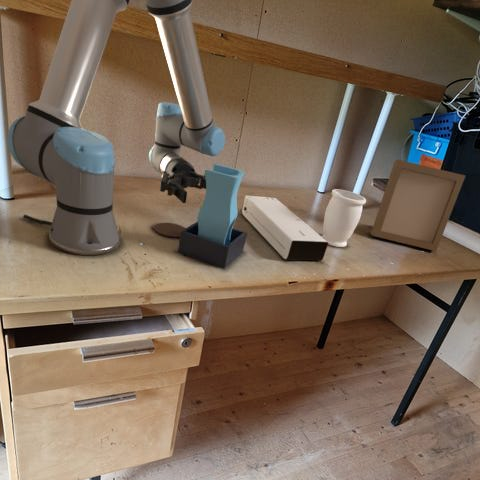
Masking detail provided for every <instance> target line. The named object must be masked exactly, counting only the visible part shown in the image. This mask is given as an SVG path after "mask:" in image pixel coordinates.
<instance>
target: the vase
mask: <svg viewBox="0 0 480 480" xmlns="http://www.w3.org/2000/svg"><path fill="white" fill-rule="evenodd" d="M212 166H213V167H212V169H213V170H212V169H208V168H205V169H204V174H205V176H206V189H205V195H204V199H203V202H202V204H201V207H200V208H199V211H198V212H197V221H198V229H199V232H198V236H200V237H203V238H206V239H209V240H212V241H215V242H218V243H221V244H223V245H226V246H227V245H229V244H230V236H231V231H232V228H234V226H235V225H234V224H235V223H236V219H237V217H238V213H239V212H238V192H239V188H240V185H241V183H242V180H243V178H244V175H245V171H244V170H242V169H238V168H235V167H230V166H226V165H223V164H219V163H216V162H215V163H213V165H212Z"/></svg>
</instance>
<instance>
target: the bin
mask: <svg viewBox="0 0 480 480" xmlns="http://www.w3.org/2000/svg"><path fill="white" fill-rule="evenodd" d="M184 228H185V229H184V230H182V231H181V234H180V238H179V243H178V251H177V252H178V253H180V254H182V255H185V256H188V257H191V258H194V259H196V260H199V261H202V262H205V263H208V264H210V265H214V266H216V267H219V268H222V269H226V268H227V267H228V266H229V265H230V264H232V263H233V262H234V261H235V260H236V259H237V258H238V257H240V255H241V254H242V253H243V252H244V249H245V245H246V239H247V235H248V232H246V231H243V230H240V229H237V228H234V227H233V228H232V231H231V236H230V244H229V245H227V246H226V245H223V244H221V243H218V242H215V241H212V240H209V239H206V238H203V237H200V236H198V232H199V229H198V220H197V221H195V222H194V223H192V224H191V225H189V226H187V227H184Z"/></svg>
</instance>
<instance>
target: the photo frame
mask: <svg viewBox="0 0 480 480" xmlns="http://www.w3.org/2000/svg"><path fill="white" fill-rule="evenodd" d="M465 179H466V175H464V174H460V173H456V172H452V171H448V170H443V169H439V168H436V167H431V166H428V165H423V164H418V163H415V162H412V161H411V162H410V161H406V160H402V159H395V160H394V162H393V165H392V168H391V171H390V175H389V177H388V181H387V183H386V187H385V189H384V192H383V195H382V199H381V201H380V205H379V208H378V211H377V212H376V213H377V214H376V215H375V218H374V219H375V220H374V222H373V225H372V229H371V231H370V235H371V236H373V237H377V238H380V239H385V240H388V241H393V242H397V243H400V244H406V245H409V246H413V247H418V248H422V249H426V250H430V251H433V252H437V250H438V248H439V245H440V243H441V241H442V238H443V235H444V232H445V230H446V228H447V225H448V222H449V220H450V218H451V217H450V216H451V214H452V212H453V209H454V206H455V204H456V202H457V199H458V196H459V193H460V191H461V189H462V186H463V183H464V182H465Z"/></svg>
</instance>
